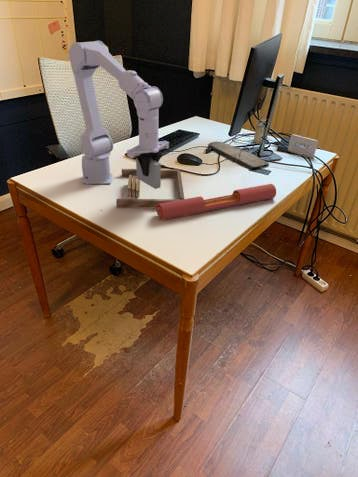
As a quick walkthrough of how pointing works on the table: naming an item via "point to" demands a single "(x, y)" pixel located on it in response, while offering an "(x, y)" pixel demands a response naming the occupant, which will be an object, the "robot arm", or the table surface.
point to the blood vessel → (214, 202)
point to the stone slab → (237, 155)
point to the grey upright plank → (150, 174)
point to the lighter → (259, 131)
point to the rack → (150, 202)
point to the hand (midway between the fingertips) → (148, 174)
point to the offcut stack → (133, 186)
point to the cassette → (301, 149)
